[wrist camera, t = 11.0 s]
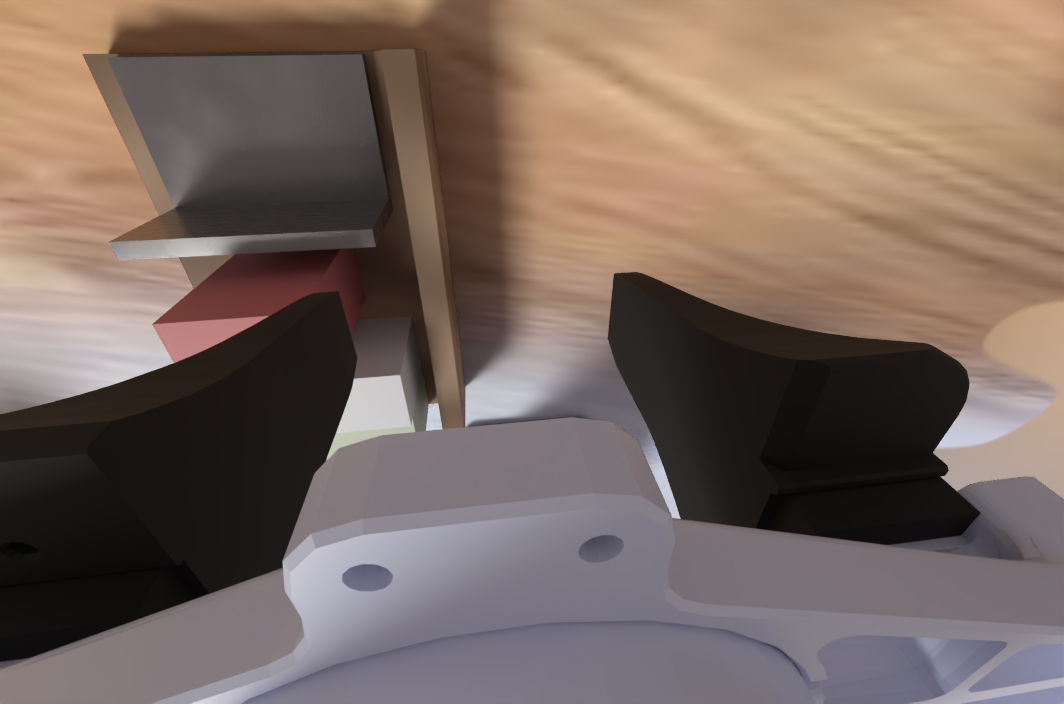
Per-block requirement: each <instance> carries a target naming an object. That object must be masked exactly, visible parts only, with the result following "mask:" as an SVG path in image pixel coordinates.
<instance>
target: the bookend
mask: <svg viewBox="0 0 1064 704" xmlns="http://www.w3.org/2000/svg"><path fill="white" fill-rule="evenodd" d="M107 59H108V61H109V63H110V66H111V68H112V70H113V72H114V74H115V77H116V79H117V81H118V83H119V85H120V88H121V90H122V92H123V94H124V97H125V99H126V101H127V103H128V105H129V108H130V110H131V112H132V114H133V116H134V119H135V121H136V123H137V125H138V128H139V130H140V132H141V134H142V136H143V139H144V141H145V143H146V145H147V147H148V150H149V152H150V154H151V156H152V159H153V161H154V163H155V165H156V167H157V170H158V172H159V174H160V176H161V179H162V181H163V183H164V185H165V187H166V190H167V192H168V194H169V196H170V198H171V201H172V203H173V205H174V207H175V208H174V209H172V210H170V211H168V212H166V213H164V214H162V215H160V216H158V217H156V218H155V219H153V220H151V221H149V222H147V223H145V224H143V225H141V226H139V227H137V228H135V229H133V230H131V231H129V232H127V233H125V234H123V235H122V236H120V237H118V238H116V239H114V240H112V241H110V242H109V244H110V246H111V248H112V249H113V251H114V253H115V255H116V256H117V258H118V260H136V259H155V258H174V257H193V256H212V255H231V254H250V253H269V252H288V251H307V250H326V249H345V248H364V247H376V245H377V243H378V241H379V239H380V237H381V235H382V233H383V231H384V229H385V227H386V225H387V223H388V220H389V218H390V216H391V214H392V212H393V206H392V201H391V195H390V190H389V184H388V179H387V174H386V168H385V163H384V157H383V152H382V146H381V141H380V135H379V130H378V124H377V119H376V113H375V108H374V102H373V97H372V91H371V86H370V80H369V75H368V69H367V64H366V58H365V55H364V54H356V55H272V56H189V57H107Z"/></svg>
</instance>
